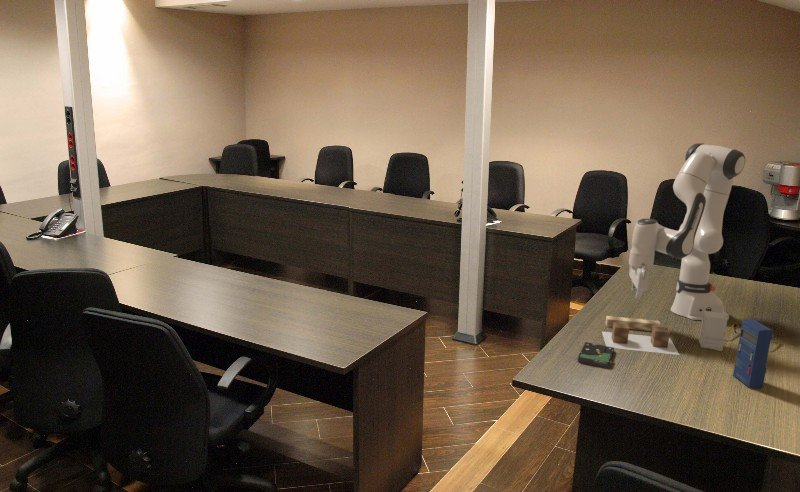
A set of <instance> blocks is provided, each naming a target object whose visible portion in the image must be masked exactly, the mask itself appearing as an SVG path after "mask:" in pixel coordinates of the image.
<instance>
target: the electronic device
mask: <svg viewBox="0 0 800 492" xmlns="http://www.w3.org/2000/svg"><path fill="white" fill-rule="evenodd" d="M741 325H742V326H740V327H741V328H740V333H739V340H738V343H737V344H738V346H737V349H736V350H737V351H736V356H735V361H734V362H735V363H734V368H733V372H732V373H733V374H732V376H733V377H734V378H736V379H738V381H740V382H741V383H743V384H744V385H746V387H748V388H750V389H751V390H752V389H753V390H755V389H762V388H763V387H764V383H765V379H766V378H765V377H766V372H767V361H768V355H769V350H770V347H771V341H772V339H773V337H774V336H773V334H774V330H773V329H771V328H770V327H767V325H764V324H763V323H761V322H759V321H757V320H756V319H752V318H751V319H743V320H742V323H741ZM772 336H773V337H772Z"/></svg>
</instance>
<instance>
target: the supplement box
mask: <svg viewBox="0 0 800 492" xmlns="http://www.w3.org/2000/svg"><path fill="white" fill-rule="evenodd" d="M727 324H728V321H727V318H726V316H725V314H724V313H719V312H711V311H703V317H702V320H701V324H700V331H699V337H698V342H699V345H700V347H701V348H703V349H710V350H716V351H718V352H723V349H724V343H725V337H726V334H725V332H726V331H727V326H728V325H727Z"/></svg>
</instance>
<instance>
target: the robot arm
mask: <svg viewBox="0 0 800 492" xmlns="http://www.w3.org/2000/svg"><path fill="white" fill-rule="evenodd" d="M745 165H746V156H745V154H744V153H743V152H742V151H740V150H737V149H734V148H733V149H732V148H729V147H725V146H723V145H712V144H705V143H700V142H699V143H693V144H692V145H690V147H688V149H687V151H686V153H685V162H684V163H683V165H682V167H681V168H680V170H679V172H678V173H677V175H676V177H675V179H674V181H673V185H672V190H673V193H674V195H675V196H676V197H677V198H678V200H680V201H681V202H682V203H684V205H685V206H686V213H685V216H684V219H683V222H682V223H681V224H680V226H679V229H678V230H675V229H671V228H668V227H665V226H663V225H661V224H659V223H658V221H657V220H656V219H654V218H642V219H639V220H637V221H636V222H635V225H634V227H633V231H632V237H631V248H630V251H629V256H628V265H629V268H628V269H629V270H628V271H629V272H628V274H629V277H630V280H631V291H632V292H633V293H636V294H635V300H642V295H643V294H644V292H647V290H648V286H649V279H650V278H649V277H650V272H649V269H651V268H653V267H654V261H655V252H658V253H661V254H664V255H668V256H670V257H672V258H674V259H677V260H681V262H680V263H681V265H680V269H679V270H680V271H679V277H678V279H677V282H676V288H675V289H676V294H675V297H674V301H673V303H672V304H671V307H670V311H671V312H672V313H674V314H675V315H678V316H681V317H685V318H688V319H689V320H694V321H702V317H703V311H711V312H719V313H724V314H725V316H726V318H727V322H728V321H729V319H730V316H729V314H728V313H727V312H726V311H725V309H724V303H723V301H722V300H721V299H720V298H719V297H718V296H717V295H716V294H715V293H714V292H715V291H716V288H717V287H715V285H713V284H712V283H710V282H709V277H710V271H711V270H710V269H711V261H710V258H709V255H710V254H711V255H712V254H715V253H716V252H718V251H719V250H721V249H722V247H723V245H724V238H723V234H722V230H723V220H724V213H725V210H726V206H727V204H728V200H729V197H730V193H731V191H732V186H733V182H734V178H736V177H737V176H739V175H740V174H741V173H742V172H743V170H744V168H745Z"/></svg>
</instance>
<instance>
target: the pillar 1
mask: <svg viewBox="0 0 800 492" xmlns="http://www.w3.org/2000/svg"><path fill="white" fill-rule="evenodd" d="M611 332H612V340H613V343H623V344H627V342H628V335H629V334H630V333H629V332H630V329H629V327H628V324H623V323H613V327H612V330H611Z"/></svg>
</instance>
